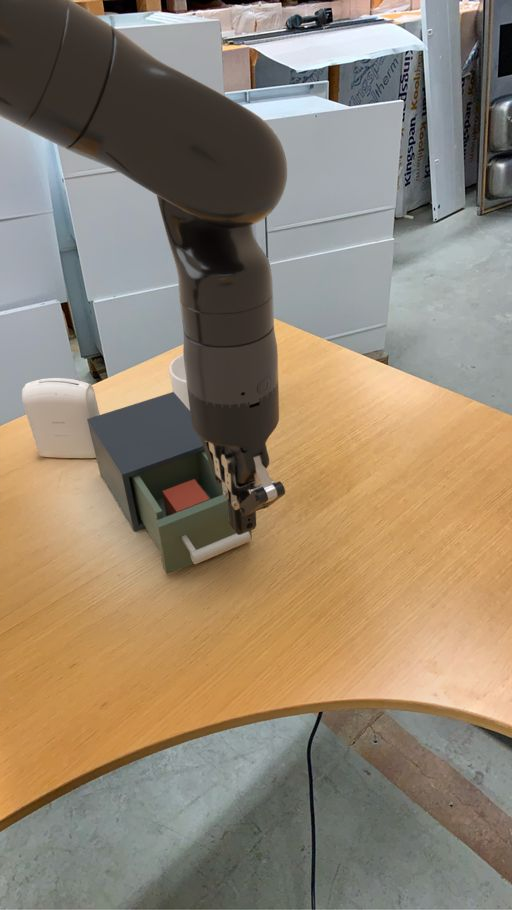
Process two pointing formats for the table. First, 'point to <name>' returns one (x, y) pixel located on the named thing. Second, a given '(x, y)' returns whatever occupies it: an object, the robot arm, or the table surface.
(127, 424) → the cabinet
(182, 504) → the block
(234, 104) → the robot arm
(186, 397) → the mug
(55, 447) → the photo printer
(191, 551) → the drawer
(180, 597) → the table surface
